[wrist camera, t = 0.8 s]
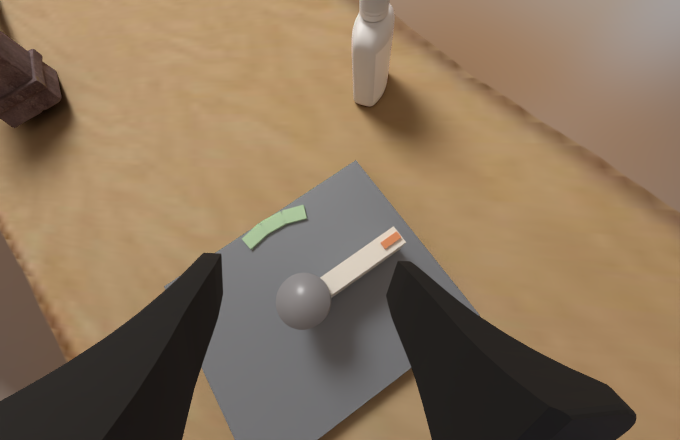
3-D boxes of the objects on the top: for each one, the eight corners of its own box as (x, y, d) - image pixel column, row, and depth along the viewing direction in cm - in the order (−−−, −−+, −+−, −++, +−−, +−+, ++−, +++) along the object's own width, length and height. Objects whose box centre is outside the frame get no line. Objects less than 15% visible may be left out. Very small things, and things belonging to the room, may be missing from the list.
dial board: (474, 314, 24) (481, 315, 23) (261, 478, 22) (255, 489, 21) (355, 164, 29) (355, 158, 27) (171, 286, 27) (161, 286, 25)
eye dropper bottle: (401, 84, 31) (425, -41, 20) (364, 113, 30) (367, 1, 19) (375, 62, 32) (384, -69, 21) (339, 90, 32) (327, -30, 20)
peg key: (306, 333, 23) (293, 341, 19) (282, 294, 25) (265, 293, 20) (408, 260, 25) (418, 252, 20) (381, 225, 26) (385, 210, 21)
